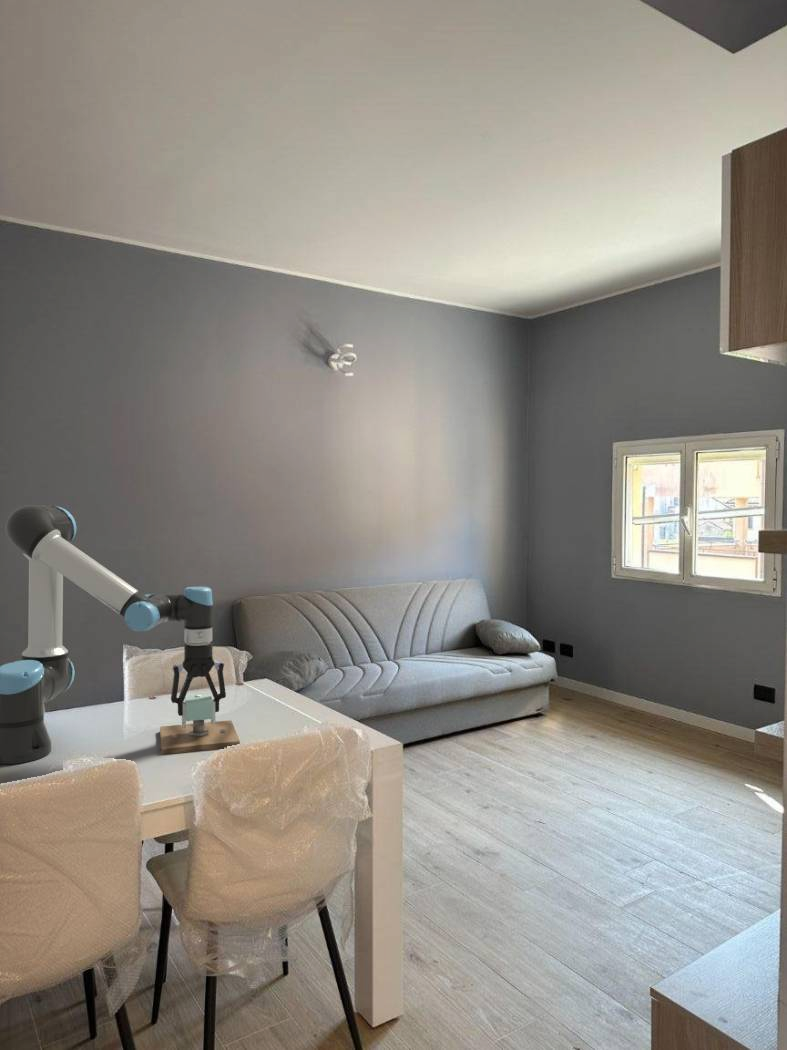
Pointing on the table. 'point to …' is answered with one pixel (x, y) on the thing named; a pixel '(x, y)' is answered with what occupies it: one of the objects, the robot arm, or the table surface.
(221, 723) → the walnut base
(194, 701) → the cap
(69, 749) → the table surface
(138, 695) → the table surface
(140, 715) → the table surface
